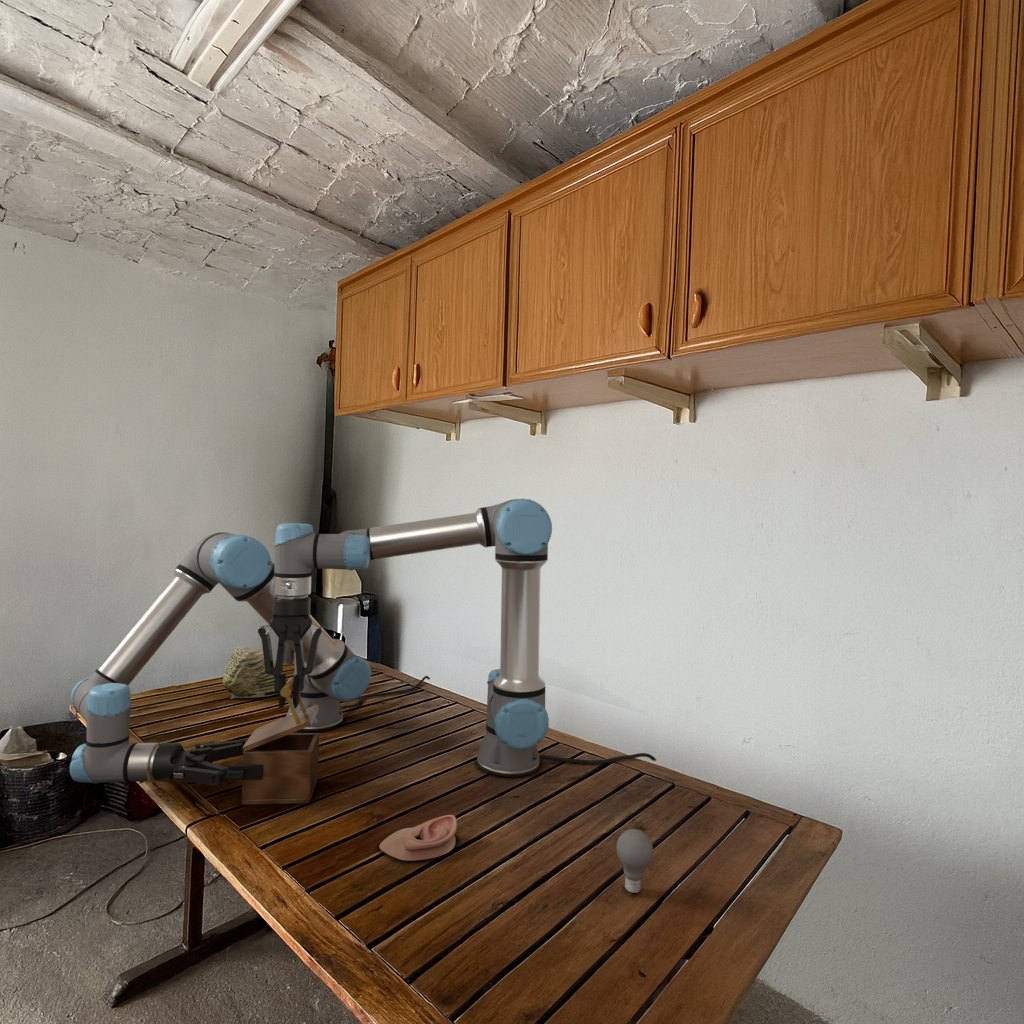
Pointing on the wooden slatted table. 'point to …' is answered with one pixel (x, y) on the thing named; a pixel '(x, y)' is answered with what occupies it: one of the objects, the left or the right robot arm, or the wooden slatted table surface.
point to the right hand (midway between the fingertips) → (288, 706)
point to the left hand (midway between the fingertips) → (269, 760)
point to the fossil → (248, 674)
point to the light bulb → (634, 857)
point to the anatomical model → (422, 840)
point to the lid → (283, 721)
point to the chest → (283, 770)
